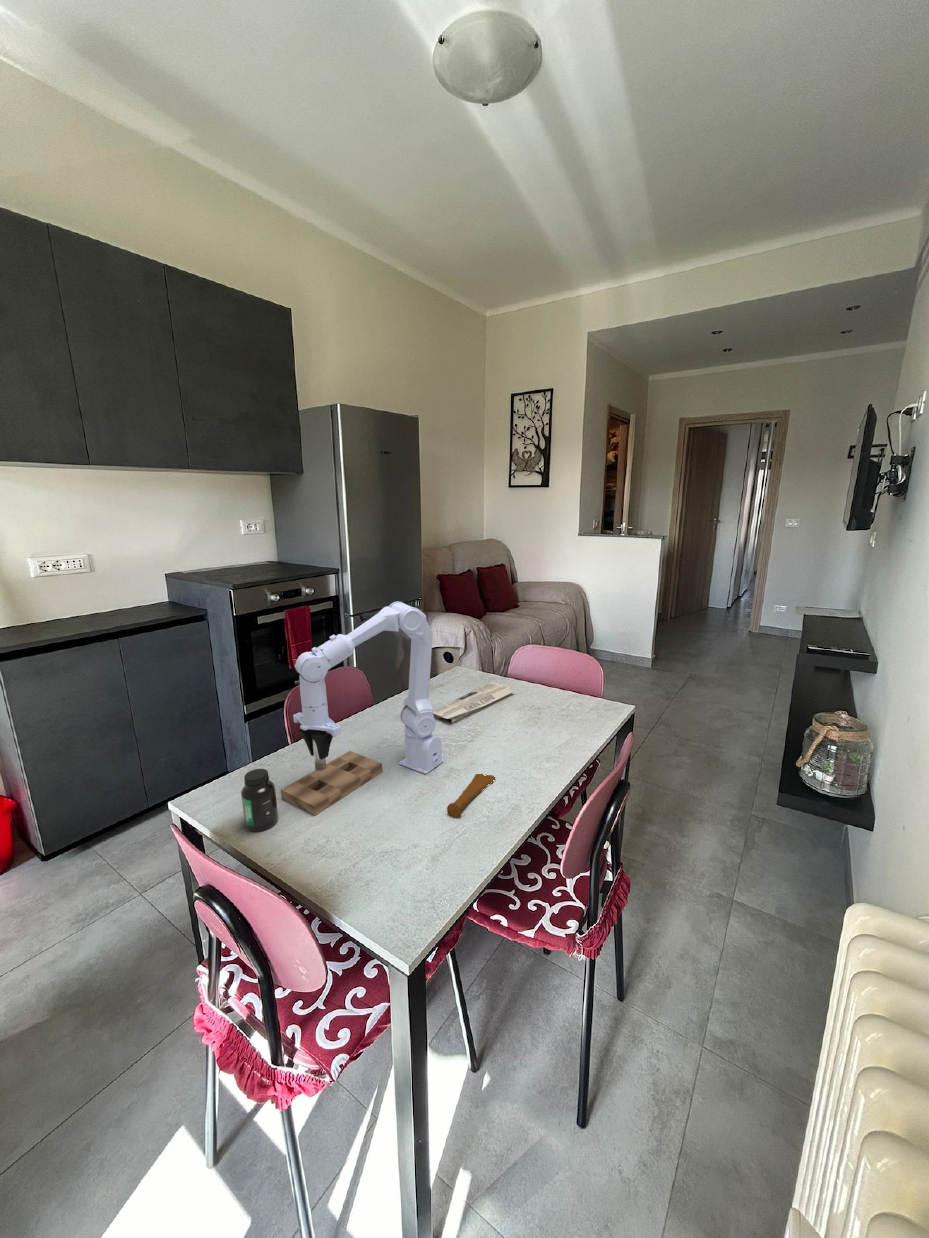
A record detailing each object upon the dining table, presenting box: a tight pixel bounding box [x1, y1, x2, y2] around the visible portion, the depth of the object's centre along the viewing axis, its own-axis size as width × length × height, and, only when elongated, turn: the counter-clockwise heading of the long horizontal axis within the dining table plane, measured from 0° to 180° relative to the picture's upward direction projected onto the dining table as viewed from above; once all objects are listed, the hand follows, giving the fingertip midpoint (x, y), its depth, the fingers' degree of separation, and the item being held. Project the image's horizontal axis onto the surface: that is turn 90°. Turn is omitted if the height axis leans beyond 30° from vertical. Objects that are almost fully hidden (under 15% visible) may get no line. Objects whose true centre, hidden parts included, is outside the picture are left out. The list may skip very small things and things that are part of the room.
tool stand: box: [280, 750, 384, 817], centre depth 123 cm, size 12×22×2 cm, turn 146°
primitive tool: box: [446, 773, 496, 818], centre depth 118 cm, size 19×6×4 cm, turn 156°
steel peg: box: [312, 738, 327, 771], centre depth 118 cm, size 3×3×8 cm
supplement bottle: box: [240, 768, 279, 833], centre depth 108 cm, size 7×7×12 cm
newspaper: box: [433, 682, 515, 725], centre depth 170 cm, size 35×12×4 cm, turn 141°
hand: (319, 755), depth 118 cm, fingers closed on steel peg, 3 cm apart
